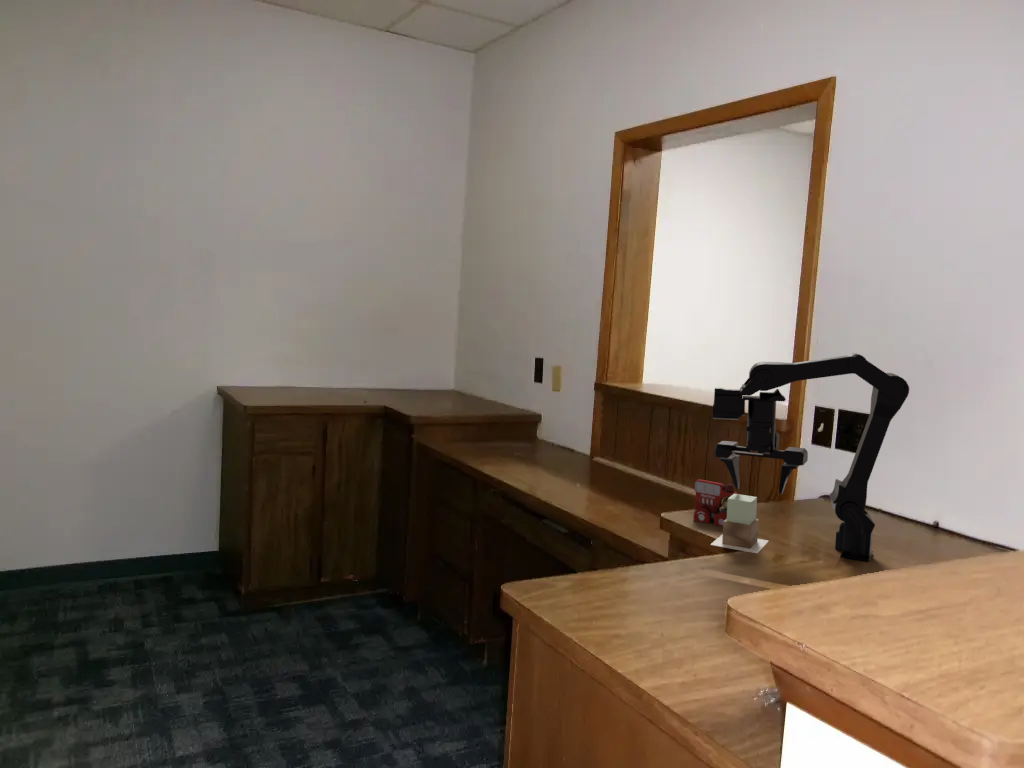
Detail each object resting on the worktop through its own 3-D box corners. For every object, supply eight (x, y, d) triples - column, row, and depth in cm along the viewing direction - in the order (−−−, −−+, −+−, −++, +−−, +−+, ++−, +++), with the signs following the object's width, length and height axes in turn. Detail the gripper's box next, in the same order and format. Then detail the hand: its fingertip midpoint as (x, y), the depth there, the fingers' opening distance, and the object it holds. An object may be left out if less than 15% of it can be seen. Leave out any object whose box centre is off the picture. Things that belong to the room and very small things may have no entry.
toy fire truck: (736, 534, 183) (738, 489, 182) (686, 523, 191) (688, 480, 190) (748, 527, 189) (750, 484, 187) (699, 517, 196) (701, 475, 195)
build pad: (768, 545, 175) (769, 540, 175) (757, 557, 167) (757, 553, 167) (723, 537, 180) (723, 532, 180) (710, 549, 172) (710, 544, 172)
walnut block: (757, 541, 175) (758, 519, 174) (750, 548, 169) (751, 526, 169) (730, 536, 178) (731, 514, 177) (722, 543, 173) (723, 521, 172)
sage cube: (749, 525, 169) (751, 502, 169) (726, 521, 172) (727, 498, 171) (755, 519, 174) (757, 497, 173) (733, 515, 176) (734, 493, 176)
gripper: (813, 419, 174) (810, 489, 176) (728, 412, 183) (726, 479, 185) (804, 426, 164) (801, 500, 166) (714, 419, 174) (712, 489, 175)
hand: (758, 491), depth 173 cm, fingers open, 9 cm apart
